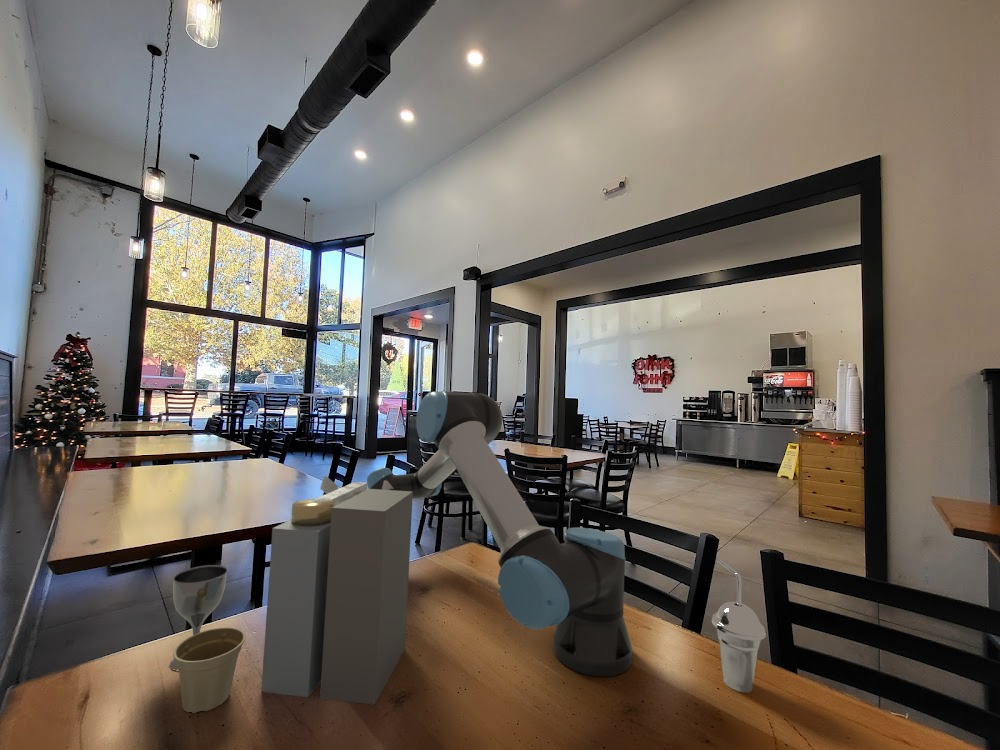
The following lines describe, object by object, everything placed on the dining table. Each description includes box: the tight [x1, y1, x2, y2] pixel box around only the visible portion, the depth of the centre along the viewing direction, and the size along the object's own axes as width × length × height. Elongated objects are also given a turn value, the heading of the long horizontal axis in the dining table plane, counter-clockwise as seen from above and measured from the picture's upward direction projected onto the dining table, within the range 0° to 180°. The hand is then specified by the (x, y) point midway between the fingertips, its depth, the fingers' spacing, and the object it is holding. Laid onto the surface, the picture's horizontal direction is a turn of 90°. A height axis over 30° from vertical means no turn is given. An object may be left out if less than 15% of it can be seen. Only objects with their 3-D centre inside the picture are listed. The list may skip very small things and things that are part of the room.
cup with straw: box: [711, 558, 767, 693], centre depth 76 cm, size 8×9×20 cm
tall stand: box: [319, 488, 414, 705], centre depth 76 cm, size 9×15×30 cm, turn 174°
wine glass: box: [168, 564, 228, 670], centre depth 77 cm, size 8×8×15 cm
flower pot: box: [172, 626, 247, 714], centre depth 67 cm, size 9×9×9 cm
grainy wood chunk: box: [290, 481, 368, 526], centre depth 83 cm, size 7×23×3 cm, turn 174°
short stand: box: [260, 519, 331, 698], centre depth 76 cm, size 8×15×26 cm, turn 174°
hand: (353, 484), depth 92 cm, fingers open, 13 cm apart
